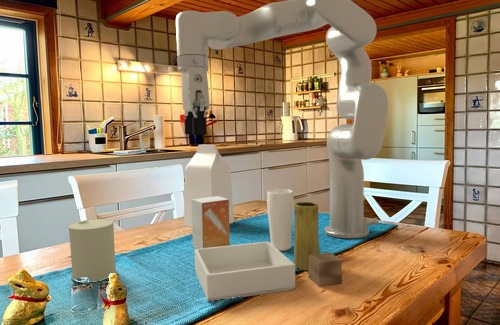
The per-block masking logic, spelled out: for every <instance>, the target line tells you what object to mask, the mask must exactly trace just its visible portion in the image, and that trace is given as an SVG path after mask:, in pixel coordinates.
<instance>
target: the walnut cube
mask: <svg viewBox="0 0 500 325" xmlns="http://www.w3.org/2000/svg"><path fill="white" fill-rule="evenodd" d="M308 264H309V270H308V279H309V280H311V281H312V282H313V283H314V284H315V285H316V286H317V287H319V288H323V287H329V286H337V285H342V284H343V259H341V258H340V257H338V256H336V255H335V254H334V253H332V252H322V253H320V254H313V255H308Z"/></svg>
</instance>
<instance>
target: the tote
mask: <svg viewBox="0 0 500 325" xmlns="http://www.w3.org/2000/svg"><path fill="white" fill-rule="evenodd" d="M194 271H195V275H196V276H197V279H198V282H199V284H200V286H201V289H202V291H203V293H204V295H205V296H204V297H205V298H206V300H207V302H208V303H210V302H209V301H211V302H215V301H214V300H218V301H221V300H220V299H225V300H227V299H226V298H232V297H239V296H240V297H239V298H245V297H251V296H252V297H253V296H258V295H260V296H261V295H266V294H267V295H268V294H273V293H281V292H287V291H294V290H296V268H295V264H294V261H292V260H290V259H289V258H288V257H287V256H286V255H284V253H282V251H279V250H278V249H276V248H275V247H274V246H273V245H272V244H271V242H269V241H261V242H258V241H257V242H252V243H242V244H230V246H221V247H211V248H202V249H196V248H194ZM241 296H242V297H241ZM232 299H233V298H232Z"/></svg>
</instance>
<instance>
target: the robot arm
mask: <svg viewBox="0 0 500 325" xmlns="http://www.w3.org/2000/svg"><path fill="white" fill-rule="evenodd" d="M325 25H330V28H328V30H327V32H326V35H325V42H326V45H327V47H328V49H329V50H330V51H331V53H333V55H334V56H335V58H336V59H337V61H338V63H339V67H340V75H339V76H340V78H339V83H338V90H337V97H336V103H335V104H336V107H335V108H336V112H337V114H338V115H339V116H340V117H341V118H343V119H346V120H353V123H345V124H344V123H343V124H339V125H336V126H335V127H333V128H332V129H331V130H329V133H328V135H327V138H326V149H327V155H328V161H329V162H328V163H329V225H326V226H325V227H324V233H325V235H328V236H330V237H334V238H338V239H339V238H340V239H361V238H364V237H365V238H366V237H367V236H369V234H370V229H369V228H368V227H370V226H377V225H379V222H380V221H379V218H377V217H373V218H369V217H365V216H364V209H365V208H364V202H365V200H364V192H365V191H364V190H365V189H364V185H365V184H364V180H365V171H364V166H363V162H362V160H363V161H366V160H371V159H373V158H375V157H376V156H377V155H379V153H380V151H381V150H382V146H383V143H384V138H385V132H386V125H387V119H388V118H387V117H388V111H389V98H388V95H387V92H386V90H385V89H384V88H383V87H382V86H381V85H380V84H378V83H374V82H373V83H372V82H371V80H372V68H373V67H372V63H371V59H370V57H369V55H368V53H367V52H366V50H365V49H364V48H365V47H367V46H368V45H370V44H371V43H372V42H373V41H374V40H375V37H376V35H377V24H376V22H375V20H374V18H373V16H371V15H370V14H369V13H368V12H367V11H365V10H364V9H363V8H361V7H360V6H359V5H358V4H357V3H355V2H354V1H353V0H281V1H276V2H271V3H267V4H265V5H262V6H261V7H259V8H257V9H255V10H253V11H251V12H249V13H246V14H243V15H240V16H237V15H236V14H235V13H234V12H233V13H232V12H231V11H227V10H220V11H210V12H209V11H208V12H201V11H197V10H183V11H181V12H179V13H178V14H177V15H176V17H175V28H176V29H175V31H176V55H177V57H176V59H177V71H178V72H180V73H181V97H182V98H181V100H182V101H181V102H182V110H184V114H183V115H184V116H183V117H184V122H183V123H184V124H183V126H184V134H185V135H194V136H205V135H207V134H208V131H207V130H208V129H207V113H206V111H208V110H209V109H210V106H211V105H210V93H209V92H210V91H209V80H208V74H207V72H209V48H210V49H212V50H225V49H230V48H231V49H232V48H235V47H240V46H245V45H248V44H253V43H258V42H263V41H266V40H267V41H268V40H270V39H274V38H275V39H276V38H278V37H283V36H288V35H293V34H299V33H304V32H308V31H312V30H317V29H320V28H322V27H323V26H325Z"/></svg>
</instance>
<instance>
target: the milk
mask: <svg viewBox="0 0 500 325" xmlns="http://www.w3.org/2000/svg"><path fill="white" fill-rule="evenodd" d="M231 173H232V172H231V168H230V165H229V163H228V162H227V161H226V160H225V159H224V157H222V155H221V154H220V152H219V150H218V148H217V145H216V144H198V145H197V149H196V152H195V153H194V155H193V156H192V158H191V159H190V160H189V162H188V163H187V165H186V166H185V169H184V190H183V191H184V192H183V193H184V196H183V198H184V199H183V204H184V205H183V226H184V227H189V228H192V202H191V200H192V199H200V198H206V197H215V196H219V197H223V198H226V199H229V225H231V224H234V223H235V212H234V201H233V198H234V197H233V186H232V174H231ZM233 222H234V223H233ZM230 223H231V224H230Z"/></svg>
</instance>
